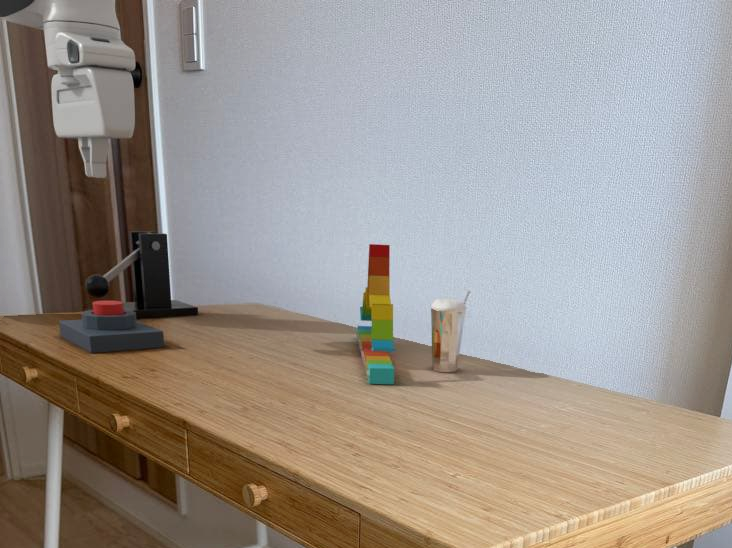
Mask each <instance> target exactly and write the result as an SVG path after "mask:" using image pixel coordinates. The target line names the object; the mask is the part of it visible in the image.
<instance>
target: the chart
mask: <svg viewBox="0 0 732 548" xmlns="http://www.w3.org/2000/svg"><path fill="white" fill-rule="evenodd" d="M390 251H391V250H390V244H375V243H374V244H373V243H369V244H368V264H367V265H368V266H367V283H366V284H367V286H366V287H365V289H364V290H365V291H363V292H362V293H363V295H362V306H359V313H360V321H362V322H364V321H365V322H371V325H357V329H356V331H355V332H356V334H355V335H356V340H357V343H358V349H359V351H360V355H361V359H362V363H363V367H364V370H365V374H366V377H367V380H368V383H369V385H394V384H395V366H394V364H393V361H392V360H391V357H390V355H389V353H390V352H391V353H392V352H394V353H395V352H396V348H395V347H394V304H393V303H392V302H391V294H390V292H391V291H390V286H391V285H390V284H391V283H390V282H391V281H390V280H391V279H390V277H391V275H390V267H391V266H390V257H391V256H390ZM388 352H389V353H388Z"/></svg>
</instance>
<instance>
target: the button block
mask: <svg viewBox="0 0 732 548" xmlns="http://www.w3.org/2000/svg"><path fill="white" fill-rule="evenodd" d="M58 325H59V333H60V338H62V339H65V340H66V341H68V342H70V343H72V344H74V345H75V346H77V347H80V348H81V349H83V350H85V351H87V352H88V353H91V354H96V353H99V354H100V353H110V352H111V353H112V352H122V351H124V352H125V351H135V350H150V349H159V348H160V349H161V348H165V338H164V331H163V330H161V329H159V328H156V327H153V326H151V325H149V324H146V323H144V322H141V321H140V320H137V319H136V312H133V311H131V310H124V314H122V315H96V314H94V312H93V309H87V310H84V311H82V312H81V319H70V320H68V319H67V320H58Z"/></svg>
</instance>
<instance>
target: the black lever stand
mask: <svg viewBox="0 0 732 548" xmlns="http://www.w3.org/2000/svg"><path fill="white" fill-rule="evenodd" d="M138 240H139V247H140V257H139V258H138V259H137V260H136V261H134V262H133V263H132V264H131V270H132V282H133V294H134V295H133V296H134V301H127V302H123V305H124V310H131V311H133V312H136V320H137V319H139V320H140V319H155V318H172V317H189V316H190V317H191V316H198V315H199V307H198V306H195V305H193V304H189V303H186V302H183V301H180V300H178V299H173V300H172V292H171V278H170V277H171V276H170V275H171V273H170V260H169V246H168V245H169V244H168V234H167V233H158V231H129V244H130V247H129V248H130V254H131V253H132V252H133V251H135V250H136V249H137V248H138V246H137V244H136V242H137V241H138Z"/></svg>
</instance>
